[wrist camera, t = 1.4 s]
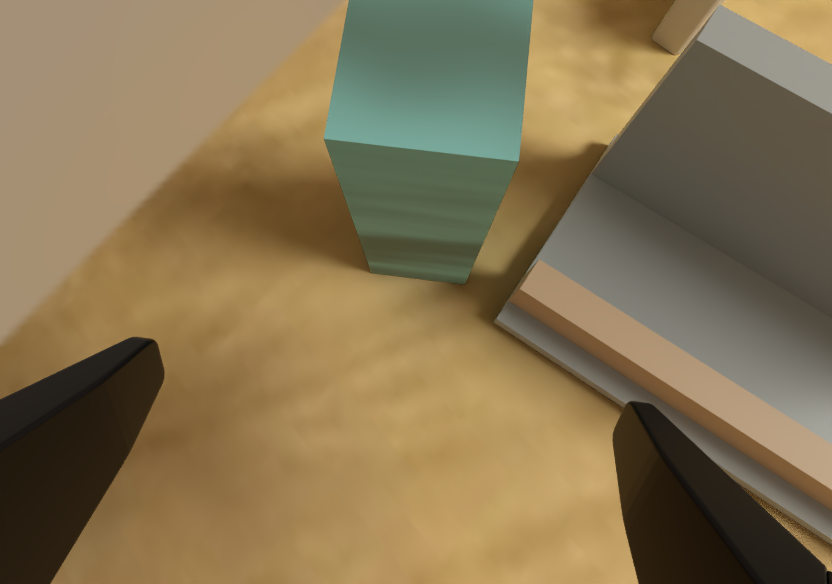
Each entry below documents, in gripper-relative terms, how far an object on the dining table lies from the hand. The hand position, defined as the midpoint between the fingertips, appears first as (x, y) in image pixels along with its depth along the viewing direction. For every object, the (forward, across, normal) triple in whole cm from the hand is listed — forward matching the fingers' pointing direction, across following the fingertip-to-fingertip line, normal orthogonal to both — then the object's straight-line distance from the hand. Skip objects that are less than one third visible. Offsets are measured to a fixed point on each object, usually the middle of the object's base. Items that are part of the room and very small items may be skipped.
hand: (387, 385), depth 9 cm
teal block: (+15, 0, +4) cm, 15 cm away
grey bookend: (+12, -15, +6) cm, 20 cm away
